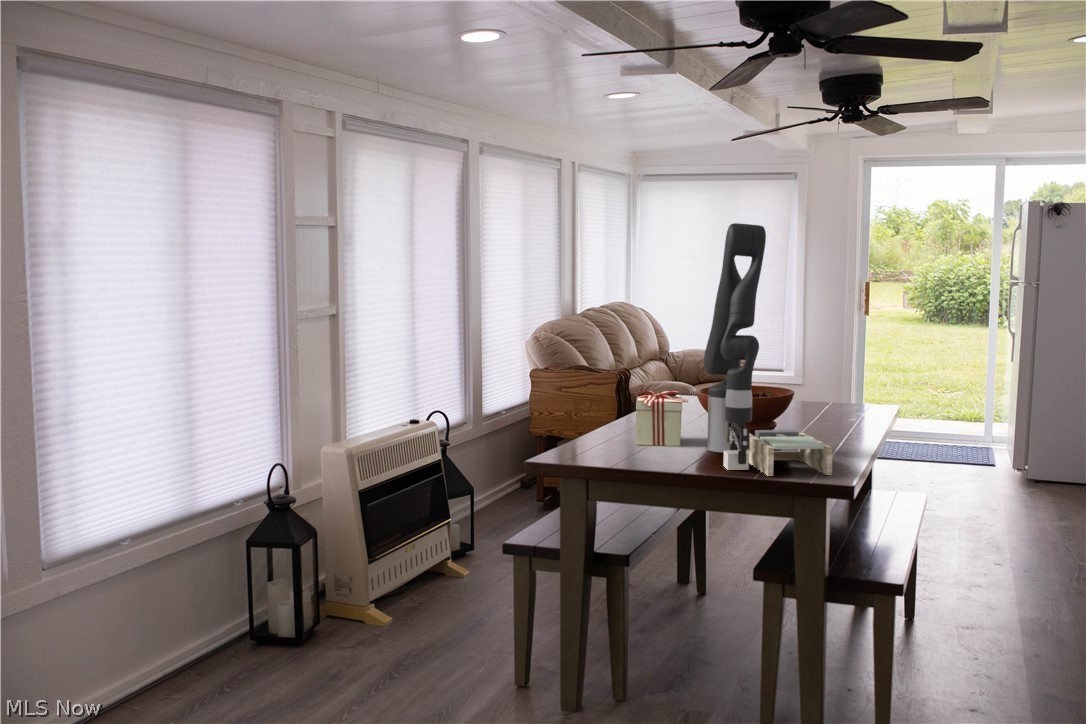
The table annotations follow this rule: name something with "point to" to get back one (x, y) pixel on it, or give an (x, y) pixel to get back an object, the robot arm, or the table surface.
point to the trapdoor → (787, 439)
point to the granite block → (734, 460)
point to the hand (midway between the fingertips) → (737, 461)
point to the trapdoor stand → (788, 456)
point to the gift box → (658, 418)
